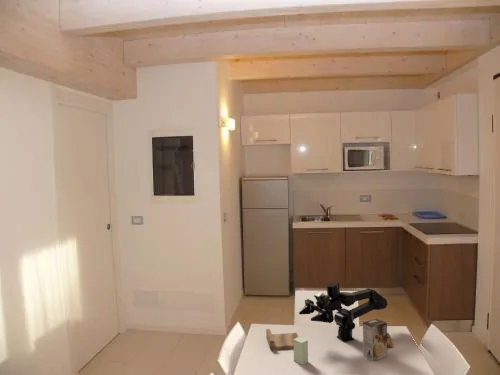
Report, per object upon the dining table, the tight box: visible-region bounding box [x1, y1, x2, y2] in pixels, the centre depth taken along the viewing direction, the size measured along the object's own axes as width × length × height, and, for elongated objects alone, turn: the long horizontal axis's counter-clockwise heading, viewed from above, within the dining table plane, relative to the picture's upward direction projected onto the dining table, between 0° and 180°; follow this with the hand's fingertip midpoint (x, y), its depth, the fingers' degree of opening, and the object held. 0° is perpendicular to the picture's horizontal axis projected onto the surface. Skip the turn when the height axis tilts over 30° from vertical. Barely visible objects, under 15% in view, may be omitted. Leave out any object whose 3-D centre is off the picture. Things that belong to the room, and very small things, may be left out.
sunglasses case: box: [387, 332, 395, 349], centre depth 196 cm, size 18×7×7 cm
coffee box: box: [362, 318, 388, 362], centre depth 179 cm, size 9×6×16 cm
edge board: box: [265, 328, 299, 351], centre depth 196 cm, size 16×14×4 cm
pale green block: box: [293, 336, 309, 366], centre depth 176 cm, size 4×5×10 cm
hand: (304, 316), depth 186 cm, fingers open, 9 cm apart
